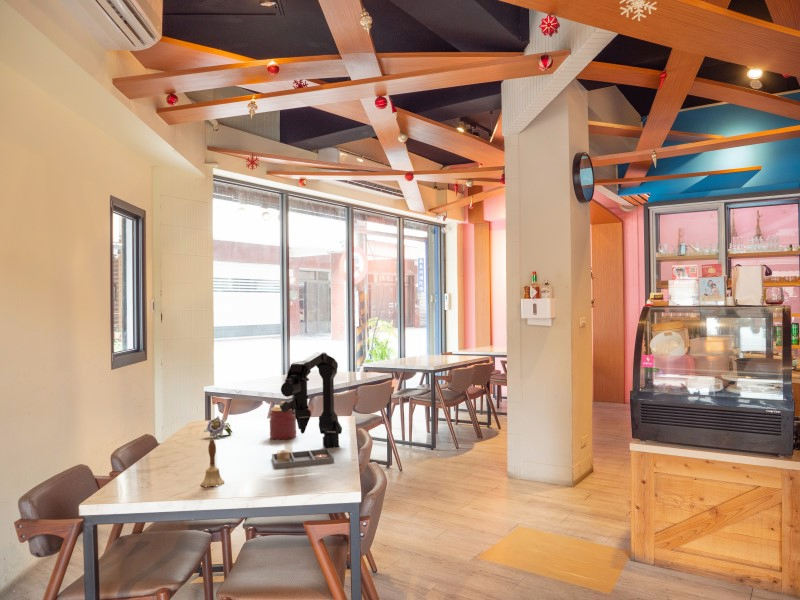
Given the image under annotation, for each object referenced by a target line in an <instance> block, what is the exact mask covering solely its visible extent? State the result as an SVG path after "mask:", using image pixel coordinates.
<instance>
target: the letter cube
mask: <svg viewBox="0 0 800 600" xmlns="http://www.w3.org/2000/svg"><path fill="white" fill-rule="evenodd" d="M289 452H290V450H289V449H282V450H277V451H276V454H277V458H278V463H281V462H290V454H289Z"/></svg>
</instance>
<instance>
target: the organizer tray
mask: <svg viewBox="0 0 800 600" xmlns="http://www.w3.org/2000/svg"><path fill="white" fill-rule="evenodd" d="M289 454H290V462H281V463H278V458H277V453H272V454H271V460H272V464H273V467H274V469H275V470H276V469H286V468H297V467H305V466H315V465H316V466H317V465H323V464H325V465H326V464H335V463H334V462H335V457H334V456H333V454H332V453H331V452H330V450H329V448H323V449H321V448H320V449H311V450H301V451H292V452H291V451H289ZM321 454H324V455H327V458H321V459H315V456H316V455H321Z"/></svg>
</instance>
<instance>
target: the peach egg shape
mask: <svg viewBox="0 0 800 600" xmlns="http://www.w3.org/2000/svg"><path fill="white" fill-rule="evenodd" d="M321 458H327V455H324V454H321V455H316V456H315V459H321Z"/></svg>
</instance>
